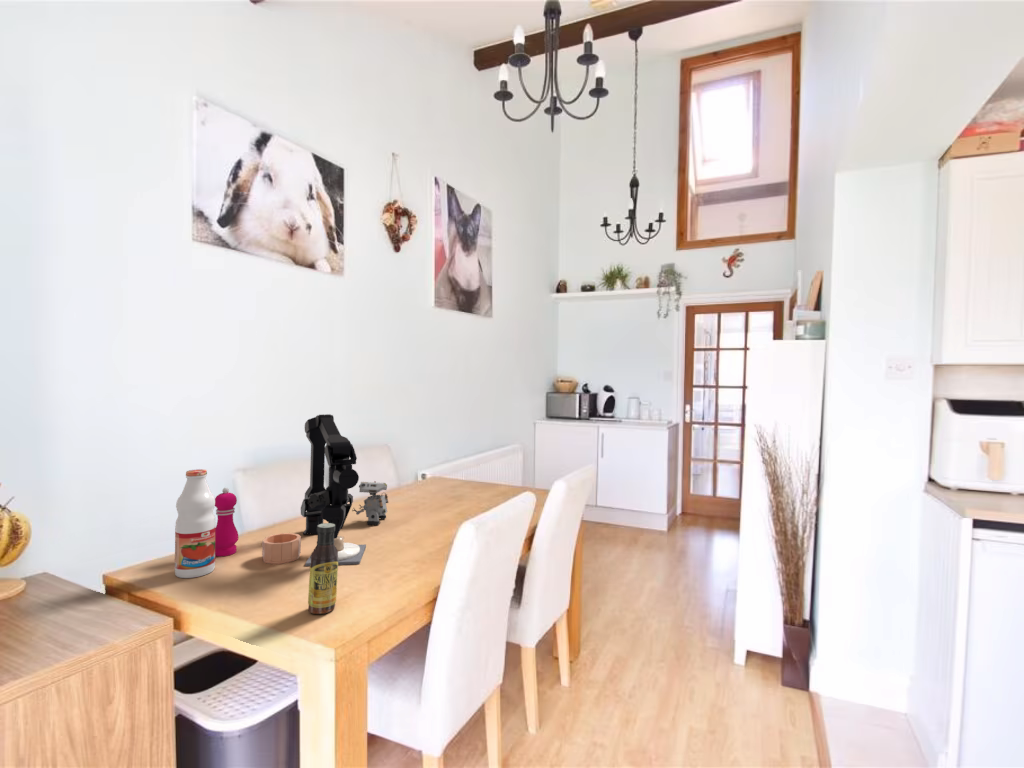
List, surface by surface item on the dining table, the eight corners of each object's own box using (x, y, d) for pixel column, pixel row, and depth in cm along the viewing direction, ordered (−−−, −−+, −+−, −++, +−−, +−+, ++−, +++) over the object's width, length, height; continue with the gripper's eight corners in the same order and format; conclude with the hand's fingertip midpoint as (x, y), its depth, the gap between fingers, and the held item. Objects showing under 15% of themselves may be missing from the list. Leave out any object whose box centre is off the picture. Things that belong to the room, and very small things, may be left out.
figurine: (361, 517, 195) (361, 479, 195) (390, 519, 194) (390, 480, 194) (351, 524, 186) (352, 484, 186) (382, 526, 185) (383, 485, 185)
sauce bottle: (311, 618, 114) (313, 531, 114) (304, 608, 119) (306, 524, 119) (341, 611, 118) (342, 526, 118) (333, 601, 123) (334, 520, 123)
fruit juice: (204, 563, 146) (206, 466, 145) (221, 570, 140) (222, 470, 140) (168, 573, 138) (169, 471, 137) (184, 581, 133) (185, 475, 132)
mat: (316, 548, 160) (317, 545, 160) (365, 546, 162) (366, 544, 162) (305, 566, 145) (305, 563, 145) (359, 564, 148) (359, 561, 148)
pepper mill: (226, 558, 150) (227, 491, 150) (205, 556, 151) (206, 489, 151) (243, 550, 157) (244, 486, 157) (223, 548, 159) (224, 484, 158)
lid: (319, 546, 159) (319, 532, 159) (362, 545, 161) (362, 531, 161) (309, 561, 146) (310, 545, 146) (356, 560, 148) (356, 544, 148)
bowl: (268, 553, 155) (269, 533, 155) (303, 551, 157) (303, 532, 157) (257, 565, 145) (258, 544, 145) (295, 563, 147) (295, 543, 147)
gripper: (317, 476, 161) (316, 525, 162) (302, 489, 143) (302, 544, 143) (353, 476, 163) (352, 524, 163) (343, 489, 145) (342, 543, 145)
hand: (337, 533), depth 154 cm, fingers open, 9 cm apart
